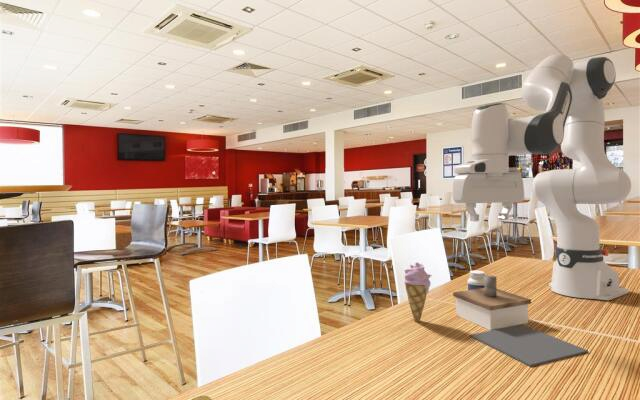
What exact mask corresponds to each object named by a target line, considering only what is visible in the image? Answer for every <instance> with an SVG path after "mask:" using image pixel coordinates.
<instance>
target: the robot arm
mask: <svg viewBox="0 0 640 400" xmlns="http://www.w3.org/2000/svg"><path fill="white" fill-rule="evenodd" d="M616 75H617V73H616V67H615V65H614V63H613V61H612V60H611V59H610V58H609V57H606V56H598V57H593V58H590V59H589V60H588V59H587V60H584V61H579V62H575V63H574V62H573V60H572V58H571V57H570V56H567V55H565V54H564V53H563V54H562V53H554V54H551V55H549V56H547V57H545V58H544V59H543V60H541V61H540V62H539V63H538V64H537V65H536V66H535V67H534V68H533V69H532V70H531V72H529V74H528V75H527V77H526V78H525V80H523V83H522V85H521V88H520V92H521V93H520V94H521V98H522V101H524V104H526V105H527V106H528V107H530V108H532V109H534V110H537V111H543V112H541V113H537V114H536V115H531V116H529V115H528V116H525V117H518V118H512V117H510V116H509V115H508V110H507V108H508V107H507V104H505V103H502V102H497V103H491V104H485V105H480V106H479V107H477V108H476V109H474V111H473V115H472V119H471V130H470V132H471V133H470V139H471V140H470V141H471V143H472V150H471V154H470V160H469V161H466V162H463V163H461V164H457V165H455V166H454V173H455V176H454V178H453V183H452V199H453V201H454V203H455V204H465V208H466V211H467V213H468V214H469V221H470V222H479V221H480V214H479V213H477V212H476V208H477V204H493V203H494V204H499V203H501V207H503V208H502V211H501V212H500V213H498V220H500V221H508V220H509V217H510V216H509V215H510V212H511V210H512V208H513V203H522V202H524V199H525V188H524V180H523V177H522V172H521V170H520V169H518V168H517V167H509V158H510V156H522V155H523V156H524V155H525V156H526V155H550V154H552V153H554V152H555V151H556V150H558V149H559V147H560V149H561V150H560V151H561V152H562V154H563V155H564V156H565V157H567V158H568V159H571V160H573V161H576V162H579V163H580V164H581V165H580V167H579V168H566V169H564V168H563V169H551V170H546V171H541V172H538V173H537V174H536V175H535V176H534V179H533V180H532V183H531V191H532V195H533V196H534V197H535V198H536V200H537V201H539V202H541V203H542V204H543V205H544V206H545V207H547V209H548V211H550V213H551V216H552V217H553V220H554V222H555V227H556V228H555V230H556V246H555V250H554V254H555V255H554V256H555V259H556V260H555V261H554V262H553V267H552V273H551V281H550V282H549V283H548V286H549V287H550V290H551V292H554V293H556V294H559V295H563V296H566V297H570V298H571V297H573V298H579V299H592V300H599V301H600V300H601V301H610V300H615V299H617V298H618V297H621V296H625V295H626V294H629V293H630V290H629V289H628V288H626V287H623V286H621V285H620V276H619V273H618V272H617V271H616V270H615V269H613V268H612V267H611V266H610V265H609V264H608V263H606V262H605V261H604V260H605V259H604V256H605V257H608V256H609V254H610V251H609V249H603V248H600V225H599V223H598V222H597V221H596V220H595V219H594V218H592V217H590V216H588V215H586V214H583V213H581V212H580V211H579V209H578V207H577V205H578V204H579V205H605V204H606V205H607V204H614V203H620V202H622V201H624V200H625V199H626V198H627V197H628V196H629V195H630V193H631V189H632V182H631V181H632V180H631V178H630V176H629V175H628V174H627V173H626V171H624V170H623V169H622V168H619V167H617V166H616V165H615V164H613V163H612V162H611V160H610V158H608V156H607V154H606V150H605V141H604V139H605V136H604V135H605V119H606V118H605V109H604V104H603V100H602V99H603V98H606V96H607V94H608V92H610V90H611V89H612V88H613V86H614V84H615V81H616V77H617V76H616Z"/></svg>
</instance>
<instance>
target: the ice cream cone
mask: <svg viewBox="0 0 640 400" xmlns="http://www.w3.org/2000/svg"><path fill="white" fill-rule="evenodd" d="M409 267H410V268H409V269H404V273H405V274H404V281H403V282H404V285H405V292H406V295H407V299H408V304H409V307H410V311H411V314H412V317H413V320H414V322H415V323H419V322H420V321H421V318H422V314H423V310H424V307H425V303H426V298H427V295H428V293H429V289H430V287H431V281H430V278H431V277H432V274H430V273H427V272H426V270H425V266H424V264H422V263H419V262H417V261H416V262H415V265H413V264H410V266H409Z"/></svg>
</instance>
